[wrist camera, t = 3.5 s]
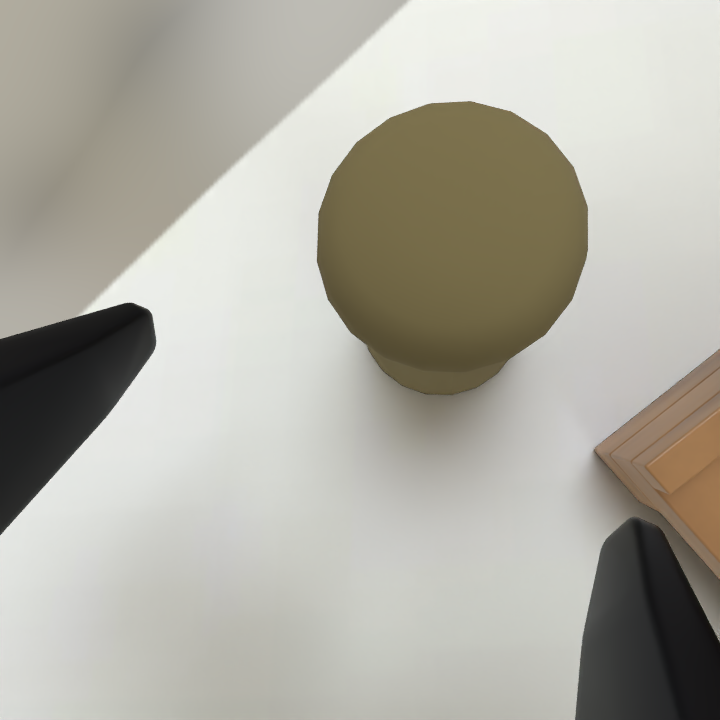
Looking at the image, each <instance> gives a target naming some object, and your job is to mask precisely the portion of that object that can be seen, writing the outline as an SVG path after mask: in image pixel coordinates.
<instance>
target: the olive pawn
mask: <svg viewBox="0 0 720 720" xmlns="http://www.w3.org/2000/svg"><path fill="white" fill-rule="evenodd" d="M587 251H588V206H587V204H586V201H585V198H584V195H583V192H582V189H581V187H580V184H579V181H578V178H577V175H576V173H575V170H574V167H573V166H572V164H571V163H570V162H569V161H568V159H567V158H566V157H565V156H564V154H563V153H562V152H561V151H560V150H559V148H558V147H557V146H556V145H555V143H554V142H553V141H552V140H551V138H550V137H549V136H548V135H547V134H546V133H544V132H543V131H541V130H540V129H538V128H537V127H535V126H533V125H532V124H530V123H529V122H527V121H525V120H524V119H522V118H521V117H519V116H518V115H516V114H514V113H513V112H511V111H507V110H503V109H499V108H495V107H491V106H487V105H483V104H479V103H475V102H471V101H468V102H449V103H431V104H427V105H424V106H421V107H419V108H416V109H413V110H410V111H408V112H405V113H402V114H399V115H397V116H394V117H391V118H389V119H388V120H386V121H385V122H384V123H382V124H381V125H380V126H378V127H377V128H376V129H374V130H373V131H371V132H370V133H369V134H367V135H366V136H365V137H363V138H362V139H361V140H359V141H358V142H357V143H356V144H355V145H354V147H353V148H352V149H351V151H350V152H349V153H348V155H347V156H346V157H345V159H344V160H343V161H342V163H341V164H340V165H339V167H338V168H337V169H336V171H335V172H334V173H333V175H332V177H331V180H330V183H329V185H328V188H327V191H326V194H325V197H324V199H323V202H322V205H321V208H320V211H319V218H318V246H317V263H318V266H319V270H320V273H321V277H322V280H323V284H324V287H325V291H326V294H327V298H328V300H329V302H330V303H331V305H332V306H333V307H334V309H335V310H336V312H337V313H338V315H339V316H340V318H341V319H342V321H343V322H344V323H345V325H346V326H347V328H348V329H349V331H350V332H351V333H352V334H353V335H355V336H356V337H357V338H359V339H360V340H361V341H363V342H364V343H365V344H366V345H368V349H369V351H370V353H371V354H372V356H373V357H374V359H375V360H376V361H377V363H378V364H379V366H380V367H381V369H382V370H383V371H384V372H385V373H386V374H388V375H389V376H390V377H392V378H393V379H394V380H396V381H397V382H398V383H400V384H401V385H402V386H405V387H407V388H410V389H413V390H416V391H419V392H421V393H424V394H438V395H453V394H457V393H460V392H463V391H467V390H470V389H474V388H477V387H478V386H480V385H481V384H483V383H484V382H486V381H487V380H488V379H490V378H491V377H493V376H494V375H496V374H497V373H498V372H499V371H500V370H501V368H502V367H503V366H504V364H505V363H506V362H507V361H508V360H509V359H510V358H512V357H513V356H515V355H516V354H517V353H519V352H520V351H522V350H523V349H525V348H526V347H528V346H529V345H531V344H532V343H534V342H535V341H537V340H538V339H540V338H541V337H542V336H544V335H545V334H546V333H547V332H548V330H549V329H550V328H551V326H552V325H553V324H554V323H555V321H556V320H557V319H558V317H559V316H560V315H561V313H562V312H563V311H564V310H565V308H566V307H567V306H568V304H569V303H570V302H571V301H572V298H573V296H574V293H575V290H576V287H577V284H578V281H579V278H580V275H581V272H582V270H583V267H584V264H585V261H586V257H587Z"/></svg>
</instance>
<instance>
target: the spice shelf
mask: <svg viewBox="0 0 720 720" xmlns="http://www.w3.org/2000/svg"><path fill="white" fill-rule="evenodd" d="M594 450H595V452H596V453H597V454H598V455H599V457H600V458H601V459H602V460H603V461H604V462H605V463H606V465H607V466H608V467H609V468H610V469H611V470H612V471H613V473H614V474H615V475H616V476H617V477H618V478H619V479H620V481H621V482H622V483H623V484H624V485H625V486H626V487H627V489H628V490H629V491H630V492H631V493H632V494H633V495H634V497H635V498H636V499H637V500H638V501H639V502H641V503H643V504H645V505H647V506H648V507H650V508H652V509H654V510H656V511H658V512H660V513H661V514H662V515H663V516H664V517H665V518H666V519H667V521H668V522H669V523H670V524H671V525H672V526H673V527H674V529H675V530H676V531H677V532H678V533H679V534H680V535H681V536H682V538H683V539H684V540H685V541H686V542H687V543H688V544H689V546H690V547H691V548H692V549H693V550H694V551H695V552H696V554H697V555H698V556H699V557H700V558H701V559H702V560H703V561H704V563H705V564H706V565H707V566H708V567H709V568H710V569H711V571H712V572H713V573H714V574H715V575H716V576H717V577H718V578H719V580H720V350H718V351H717V352H716V353H714V354H713V355H712V356H711V357H709V358H708V359H707V360H706V361H704V362H703V363H702V364H701V365H699V366H698V367H697V368H696V369H694V370H693V371H692V372H690V373H689V374H688V375H687V376H685V377H684V378H683V379H682V380H680V381H679V382H678V383H677V384H675V385H674V386H673V387H671V388H670V389H669V390H668V391H666V392H665V393H664V394H663V395H661V396H660V397H659V398H658V399H656V400H655V401H654V402H652V403H651V404H650V405H649V406H647V407H646V408H645V409H644V410H642V411H641V412H640V413H639V414H637V415H636V416H635V417H633V418H632V419H631V420H630V421H628V422H627V423H626V424H625V425H623V426H622V427H621V428H620V429H618V430H617V431H616V432H614V433H613V434H612V435H611V436H609V437H608V438H607V439H606V440H604V441H603V442H602V443H601V444H599V445H598V446H597V447H595V449H594Z"/></svg>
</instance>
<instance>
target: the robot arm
mask: <svg viewBox="0 0 720 720" xmlns="http://www.w3.org/2000/svg"><path fill="white" fill-rule="evenodd" d="M155 346H156V336H155V330H154V323H153V317H152V314H151V312H150V311H149V310H148V309H146V308H144V307H141V306H139V305H136V304H134V303H124V304H121V305H117V306H114V307H110V308H107V309H103V310H100V311H96V312H93V313H89V314H86V315H83V316H79V317H76V318H72V319H69V320H66V321H62V322H59V323H55V324H51V325H48V326H44V327H41V328H38V329H34V330H31V331H27V332H24V333H20V334H16V335H13V336H10V337H6V338H3V339H0V535H1V534H2V533H3V532H4V530H5V529H6V528H7V527H8V526H9V525H10V524H11V523H12V522H13V520H14V519H15V518H16V517H17V516H18V515H19V514H20V513H21V512H22V510H23V509H24V508H25V507H26V506H27V505H28V504H29V503H30V501H31V500H32V499H33V498H34V497H35V496H36V495H37V494H38V493H39V491H40V490H41V489H42V488H43V487H44V486H45V485H46V484H47V483H48V481H49V480H50V479H51V478H52V477H53V476H54V475H55V474H56V473H57V471H58V470H59V469H60V468H61V467H62V466H63V465H64V464H65V463H66V461H67V460H68V459H69V458H70V457H71V456H72V455H73V454H74V452H75V451H76V450H77V449H78V448H79V447H80V446H81V445H82V444H83V442H84V441H85V440H86V439H87V438H88V437H89V436H90V435H91V434H92V432H93V431H94V430H95V429H96V428H97V427H98V426H99V425H100V423H101V422H102V421H103V420H104V419H105V418H106V416H107V415H108V414H109V413H110V412H111V410H112V409H113V408H114V406H115V405H116V404H117V402H118V401H119V400H120V398H121V397H122V395H123V394H124V393H125V391H126V390H127V388H128V387H129V386H130V384H131V383H132V381H133V380H134V379H135V377H136V376H137V374H138V373H139V372H140V370H141V369H142V368H143V366H144V365H145V363H146V362H147V361H148V359H149V358H150V356H151V355H152V353H153V352H154V350H155ZM575 720H720V642H719V640H718V638H717V636H716V634H715V632H714V630H713V628H712V626H711V625H710V623H709V621H708V619H707V617H706V615H705V613H704V611H703V609H702V607H701V605H700V603H699V601H698V599H697V597H696V595H695V593H694V591H693V589H692V587H691V585H690V584H689V582H688V580H687V578H686V576H685V574H684V572H683V570H682V568H681V566H680V564H679V562H678V560H677V558H676V556H675V554H674V552H673V550H672V548H671V546H670V544H669V542H668V541H667V539H666V537H665V535H664V533H663V531H662V530H661V529H660V528H659V527H658V526H656V525H654V524H652V523H649V522H647V521H645V520H642V519H640V518H637V517H632V518H629V519H628V520H627V521H626V522H624V523H623V524H622V525H621V526H620V527H619V528H618V529H617V530H616V531H614V532H613V533H612V534H611V535H610V536H609V537H608V538H607V539H606V540H605V542H604V544H603V546H602V548H601V552H600V556H599V561H598V566H597V571H596V575H595V580H594V585H593V589H592V594H591V599H590V604H589V608H588V613H587V618H586V623H585V628H584V633H583V640H582V648H581V658H580V670H579V682H578V693H577V705H576V717H575Z"/></svg>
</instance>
